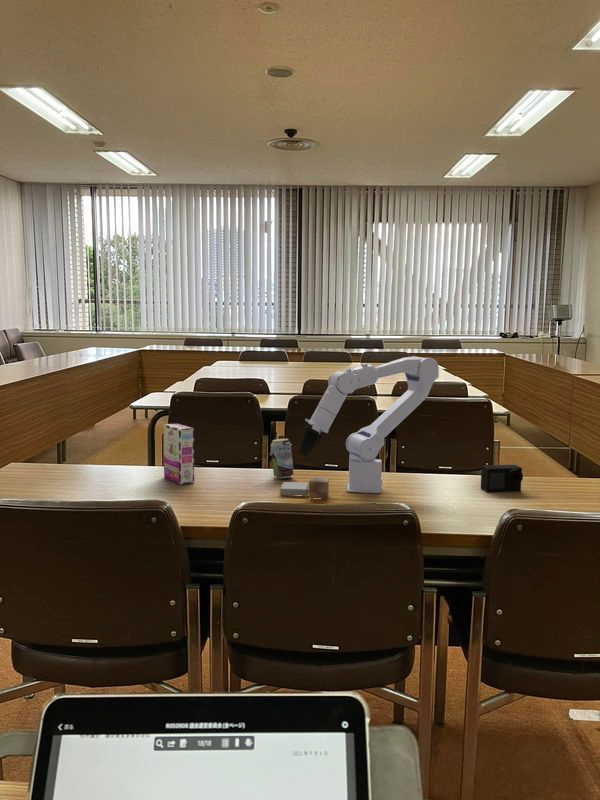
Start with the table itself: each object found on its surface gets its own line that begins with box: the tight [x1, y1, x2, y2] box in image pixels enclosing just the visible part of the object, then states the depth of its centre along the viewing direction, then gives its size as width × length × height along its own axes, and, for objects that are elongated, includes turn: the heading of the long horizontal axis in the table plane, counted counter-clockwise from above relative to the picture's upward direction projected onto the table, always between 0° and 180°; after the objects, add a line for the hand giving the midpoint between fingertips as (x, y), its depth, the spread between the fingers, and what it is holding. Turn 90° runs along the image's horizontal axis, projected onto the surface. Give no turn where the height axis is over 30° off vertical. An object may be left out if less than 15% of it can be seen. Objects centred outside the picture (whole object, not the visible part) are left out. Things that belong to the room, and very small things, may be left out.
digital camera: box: [480, 464, 524, 493], centre depth 184 cm, size 10×5×7 cm, turn 99°
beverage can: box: [270, 438, 295, 479], centre depth 196 cm, size 6×7×12 cm
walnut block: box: [308, 476, 330, 499], centre depth 176 cm, size 5×5×5 cm
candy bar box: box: [163, 423, 195, 486], centre depth 191 cm, size 11×5×16 cm, turn 36°
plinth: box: [280, 481, 309, 497], centre depth 180 cm, size 7×7×2 cm
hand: (302, 454), depth 176 cm, fingers open, 7 cm apart
